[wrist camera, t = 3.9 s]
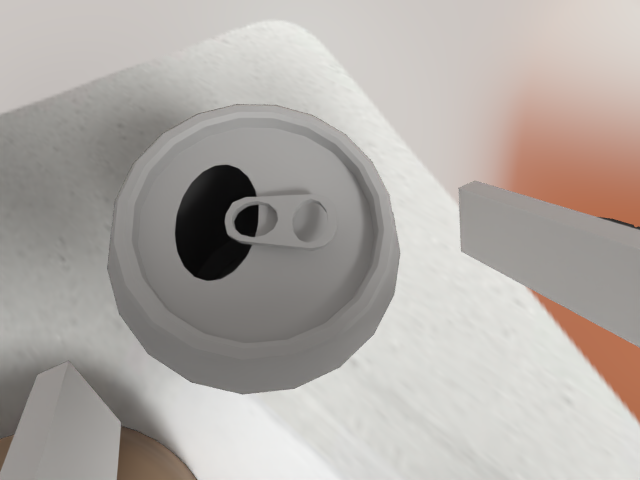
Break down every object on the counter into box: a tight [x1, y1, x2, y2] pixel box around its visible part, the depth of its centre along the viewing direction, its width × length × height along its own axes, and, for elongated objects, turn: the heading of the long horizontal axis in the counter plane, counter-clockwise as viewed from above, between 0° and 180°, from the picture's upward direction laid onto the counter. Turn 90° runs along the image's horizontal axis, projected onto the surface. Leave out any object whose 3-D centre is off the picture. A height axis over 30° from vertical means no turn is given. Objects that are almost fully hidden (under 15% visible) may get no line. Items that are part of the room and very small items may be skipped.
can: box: [107, 104, 400, 394], centre depth 13 cm, size 8×8×12 cm
